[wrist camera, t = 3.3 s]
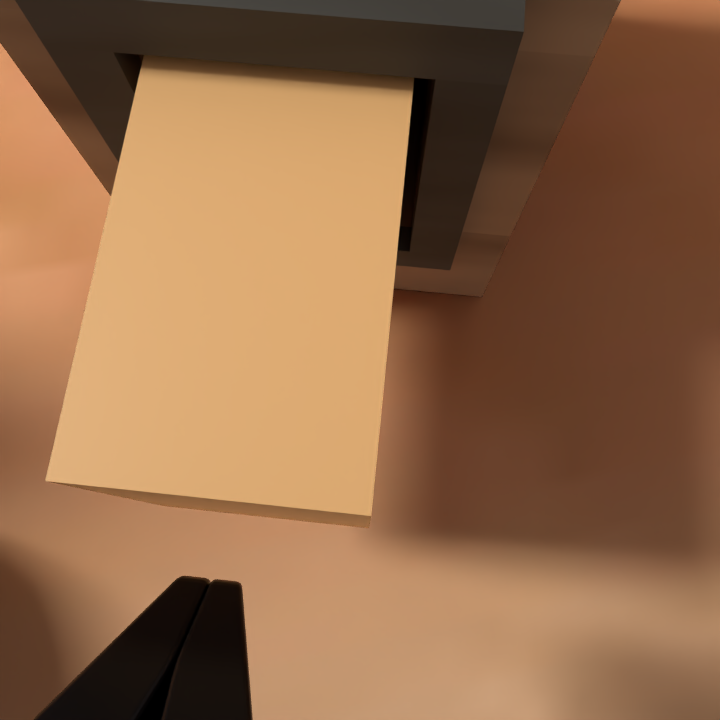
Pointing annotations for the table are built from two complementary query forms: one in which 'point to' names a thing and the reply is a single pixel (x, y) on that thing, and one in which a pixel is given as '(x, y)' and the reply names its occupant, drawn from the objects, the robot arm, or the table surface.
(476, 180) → the housing
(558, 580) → the table surface
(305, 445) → the peg
